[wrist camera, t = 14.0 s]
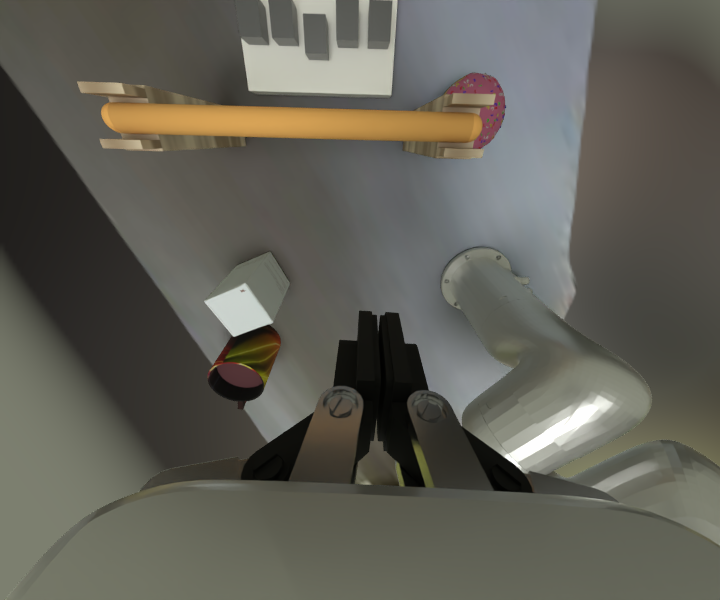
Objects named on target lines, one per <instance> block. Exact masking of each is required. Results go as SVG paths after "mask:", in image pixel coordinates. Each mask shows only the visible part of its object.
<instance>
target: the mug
mask: <svg viewBox="0 0 720 600" xmlns="http://www.w3.org/2000/svg"><path fill="white" fill-rule="evenodd" d="M280 344H281V340H280V337H279V334H278V333H277V331H276V330H275V329H274V328H272V327H271V326H270V325H265V326H262V327H259V328H257V329H254V330H251V331H248V332H246V333H243V334H240V335H238V336H235V337H233V336H232V337H231V338H230V340H229V341H228V343H227V344H226V346H225V347H224V349H223V351H222V352H221V354H220V355H219V357H218V358H217V360H216V362H215V363H214V365H213V366H212V368H211V369H210V371H209V373H208V376H207V377H208V382H209V385H210V387H211V388H212V389H213V390H214V391H215V392H216V393H217V394H218V395H220V396H222V397H224V398H227V399H229V400H233V401H238V409H243V408H244V406H245V403H246V401H250V400H254V399H256V398H257V397H259V396H260V395H261V394H262V392H263V390H264V387H265V385H266V382H267V380H268V377H269V374H270V372H271V369H272V366H273V364H274V361H275V358H276V356H277V353H278V350H279V348H280Z"/></svg>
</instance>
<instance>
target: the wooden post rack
mask: <svg viewBox="0 0 720 600" xmlns="http://www.w3.org/2000/svg"><path fill="white" fill-rule="evenodd" d="M77 83H78V86H79V88H80V91H81V93H87V94H93V95H99V96H105V97H108V98H109V101H110V102H120V103H155V104H189V105H219V104H215V103H211V102H208V101H204V100H200V99H196V98H192V97H188V96H184V95H180V94H176V93H172V92H168V91H164V90H160V89H156V88H152V87H148V86H144V85H128V84H123V83H104V82H77ZM495 96H496V94H466V93H453V94H451V95H447V94H445V95H443V96H441V97H439V98H437V99H435V100H433V101H431V102H429V103H427V104H425V105H423V106H421V107H420V108H418V109H416V110H414V111H429V112H464V113H475V114H477V115H479V114H480V109H481V108H483V107H487V106H491V105H494V100H495ZM121 135H122V138H123V139H99V140H100V142H101V145H102V147H103V148H115V149H127V150H141V151H173V150H190V149H207V148H224V147H241V146H246V142H245V137H235V136H198V135H161V134H124V133H121ZM473 144H474V141H472V142H469V143H456V142H419V141H403V151H408V152H412V153H416V154H420V155H424V156H429V157H433V158H448V159H471V158H482V155H483V151H484V149H473Z"/></svg>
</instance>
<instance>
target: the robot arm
mask: <svg viewBox="0 0 720 600" xmlns="http://www.w3.org/2000/svg"><path fill="white" fill-rule="evenodd" d="M466 255H467V256H466ZM529 281H530V280H529V277H517V276H516V275H514V274H513V273H512V270H511V266H510V263H509V261H508V260H507V258H506V257H505V256H504V255H503V254H501V253H500V252H499V251H497V250H494V249H491V248H487V247H478V248H472V249H469V250H466V251H464V252H462V253H460V254H459V255H457V256H456V257H455V258H453V259H452V260H451V261H450V263H449V264H448V265H447V266H446V268H445V270H444V272H443V274H442V277H441V291H442V294H443V296H444V298H445V299H446V301H447V302H448V303H449V304H450V305H452V306H453V307H455V308H458V309H460V310H462V311H463V312H464V314H465V316H466V317H467V319H468V321H469V322H470V324H471V326H472V327H473V329H474V330H475V332H476V334H477V335H478V337H479V339H480V340H481V342H482V343H483V345H484V347H485V348H486V350H487V351H488V352H489V354H490V355H491V356H492V357H493V358H494V359H496V360H497V361H499V362H500V363H502V364H504V365H507V366H509V367H512V368H514V369H513V370H511V371H510V372H509V373H508V374H506V376H505V377H503V378H502V379H500V380H499V381H498V382H496V383H495V384H494V385H492V386H491V387H490V388H488V389H487V390H486V391H484V392H483V393H482V394H480V395H479V396H478V397H477V398H475V399H474V400H473V401H472V402H471V403H470V404H469V405H468V406H467V407H466V408H465V410H464V412H463V415H462V426H463V427H462V426H461V425H460V423H459V421H458V419H457V417H456V415H455V413H454V411H453V409H452V407H451V405H450V404H449V402H448V401H447V400H446V399H445V398H444V397H443V396H441V395H439V394H438V393H436V392H432V391H429V389H428V385H427V382H426V378H425V374H424V370H423V366H422V362H421V359H420V355H419V351H418V347H417V345H416V344H405V342H404V337H403V332H402V327H401V322H400V317H399V313H391V312H386V313H385V315H380V322H379V331H378V326H377V315H372V311H359V321H358V337H357V341H350V340H339V347H338V355H337V362H336V370H335V378H334V385H333V387H332V388H329V389H327V390H326V391H325V392H324V393H322V395H321V396H320V398H319V400H318V403H317V406H316V408H315V411H314V412H313V413H312V414H310V415H309V416H308V417H306V418H305V419H303V420H302V421H300V422H299V423H297V424H296V425H294V426H293V427H291V428H290V429H288V430H287V431H286V432H284V433H283V434H281V435H280V436H278V437H277V438H275V439H274V440H272V441H271V442H269V443H268V444H267V445H265V446H264V447H262V448H261V449H259V450H258V451H256V452H255V453H254V454H253V455H252V456H251V457H250V458H247V459H242V460H240V459H239V457H233V458H227V459H222V460H216V461H211V462H205V463H199V464H194V465H188V466H182V467H176V468H171V469H168V470H165V471H162V472H160V473H158V474H157V475H155V476H154V477H152V478H151V479H150V480H149V481H148V482H147V483H146V484H145V485H144V486H143V487H142V488H141V490H140V491H139V492H137V493H134V494H131V495H128V496H126V497H124V498H121V499H118V500H116V501H114V502H111V503H109V504H107V505H105V506H103V507H101V508H99V509H97V510H96V511H94V512H92V513H91V514H89V515H88V516H86V517H84V518H83V519H82V520H80V521H79V522H78V523H77V524H75V525H74V526H73V527H72V528H70V529H69V530H68V531H67V532H66V533H65V534H64V535H63V536H62V537H61V538H60V539H58V540H57V542H55V543H54V545H53V546H52V547H51V548H50V549H49V550H48V551H47V552H46V553H45V554H44V555H43V556H42V557H41V558H40V559H39V560H38V562H37V563H36V564H35V565H34V566H33V567H32V568H31V570H30V571H29V572H28V573H27V574H26V575H25V576H24V577H23V579H22V580H21V581H20V582H19V583H18V584H17V585H16V586H15V588H14V589H13V590H12V591H11V592H10V594H9V595H8V596H7V597H6V598H5V600H720V467H719V466H718V465H717V464H715V463H714V462H713V461H711V460H710V459H709V458H707V457H706V456H704V455H703V454H701V453H700V452H698V451H696V450H694V449H693V448H691V447H689V446H687V445H684V444H682V443H680V442H676V441H672V440H656V441H651V442H646V443H643V444H641V445H638V446H635V447H633V448H631V449H628V450H626V451H623V452H622V453H619V454H617V455H615V456H613V457H611V458H609V459H607V460H605V461H603V462H601V463H599V464H597V465H594V466H593V467H590V468H588V469H586V470H584V471H582V472H580V473H578V474H576V475H574V476H572V477H569V478H565V477H562V476H561V475H559V474H557V473H556V472H555V471H554V470H557V469H559V468H561V467H562V466H564V465H566V464H568V463H570V462H572V461H574V460H576V459H578V458H581V457H583V456H585V455H587V454H589V453H591V452H593V451H594V450H596V449H598V448H600V447H602V446H604V445H606V444H608V443H610V442H611V441H614V440H615V439H617V438H619V437H621V436H623V435H624V434H626V433H627V432H629V431H631V430H632V429H633V428H634V427H635V426H637V425H638V424H639V423H640V422H641V421H642V420H643V419H644V418H645V416H646V415H647V414H648V411H649V410H650V407H651V403H652V397H651V392H650V389H649V387H648V385H647V383H646V382H645V380H644V379H643V378H642V377H641V375H640V374H639V373H638V372H637V371H636V370H634V369H633V368H632V367H631V366H630V365H629V364H628V363H626V362H625V361H624V360H622V359H621V358H619V357H618V356H617V355H615V354H614V353H612V352H610V351H609V350H607V349H606V348H604V347H602V346H601V345H599V344H597V343H596V342H594V341H592V340H591V339H589V338H588V337H586V336H584V335H583V334H581V333H580V332H578V331H577V330H576V329H574V328H573V327H571V326H570V325H569V324H568V323H566V322H565V321H564V320H563V319H561V318H560V317H559V316H558V315H556V314H555V313H554V312H553V311H552V310H551V309H549V308H548V307H547V306H546V305H545V304H544V303H543V302H541V301H540V300H539V299H538V298H537V297H536V296H535V295H533V294H532V289H531V288H526V287H524V286H523V285H522V284H526V285H527V284H528V283H529ZM376 419H377V435H378V441H383V448H384V451H387V453H388V454H389V455H390V456H391V457H392V458H394V459H395V466H396V472H397V476H398V480H399V484H400V486H382V485H360V484H355V480H356V474H357V468H358V461H359V460H361V459H362V458H363V457H364V456H365V455H366V454H367V453H368V452H369V447H370V441H374V434H375V426H376Z"/></svg>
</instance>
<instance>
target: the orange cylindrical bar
mask: <svg viewBox="0 0 720 600" xmlns="http://www.w3.org/2000/svg"><path fill="white" fill-rule="evenodd" d="M101 114H102V118H103V120H104V122H105V123H106V124H107V125H108V126H109V127H110V128H111V129H113V130H114V131H116V132H119V133H124V134H161V135H198V136H235V137H272V138H308V139H345V140H382V141H419V142H456V143H469V142H472V141H474V140H475V139H476V138H477V137H478V136H479V135H480V133H481V131H482V120H481V118H480V116H479V115H477V114H475V113H464V112H429V111H395V110H361V109H326V108H292V107H258V106H223V105H189V104H155V103H120V102H110V103H107V104H105V105H104V106H103V107H102V110H101Z"/></svg>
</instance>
